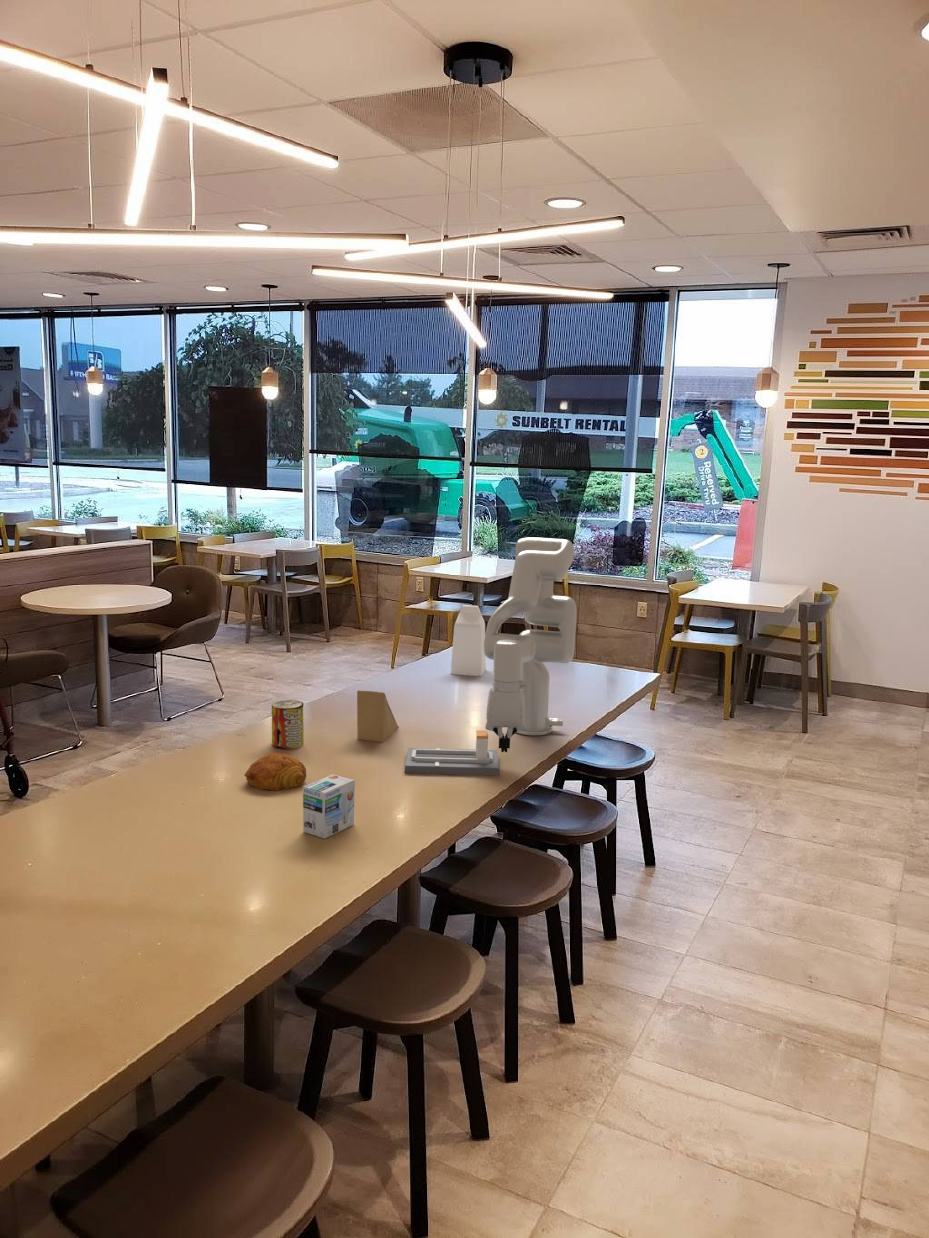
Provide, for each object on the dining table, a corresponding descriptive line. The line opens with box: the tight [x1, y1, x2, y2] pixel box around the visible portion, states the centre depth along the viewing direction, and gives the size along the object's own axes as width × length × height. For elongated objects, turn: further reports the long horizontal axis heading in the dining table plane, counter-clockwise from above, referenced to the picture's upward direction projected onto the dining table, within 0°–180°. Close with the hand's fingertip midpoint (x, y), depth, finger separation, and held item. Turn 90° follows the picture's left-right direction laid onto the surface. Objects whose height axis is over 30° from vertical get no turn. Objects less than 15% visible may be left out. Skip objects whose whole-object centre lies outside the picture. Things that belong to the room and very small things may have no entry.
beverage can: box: [271, 699, 305, 750], centre depth 267 cm, size 9×9×12 cm
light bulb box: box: [302, 773, 356, 840], centre depth 210 cm, size 11×7×11 cm, turn 148°
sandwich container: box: [356, 690, 399, 742], centre depth 280 cm, size 9×15×15 cm, turn 167°
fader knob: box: [475, 729, 489, 759], centre depth 254 cm, size 3×5×7 cm, turn 0°
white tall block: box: [450, 604, 487, 677], centre depth 360 cm, size 12×12×26 cm
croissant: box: [243, 751, 307, 792], centre depth 238 cm, size 14×16×8 cm
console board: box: [404, 747, 500, 776], centre depth 255 cm, size 25×15×3 cm, turn 90°
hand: (504, 750), depth 254 cm, fingers closed
